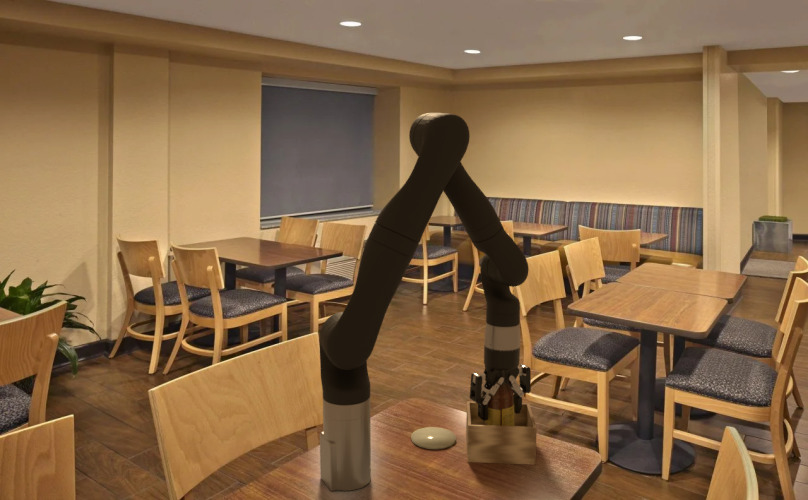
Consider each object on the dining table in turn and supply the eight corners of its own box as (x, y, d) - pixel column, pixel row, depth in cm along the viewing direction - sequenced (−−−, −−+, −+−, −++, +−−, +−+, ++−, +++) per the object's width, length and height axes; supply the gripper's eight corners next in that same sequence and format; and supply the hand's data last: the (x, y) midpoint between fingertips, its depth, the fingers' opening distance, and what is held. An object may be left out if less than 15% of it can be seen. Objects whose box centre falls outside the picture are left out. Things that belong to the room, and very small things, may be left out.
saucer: (424, 453, 139) (424, 450, 139) (403, 434, 148) (403, 432, 148) (464, 443, 144) (464, 441, 143) (441, 426, 152) (441, 424, 152)
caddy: (467, 461, 135) (468, 425, 134) (466, 434, 148) (466, 401, 147) (535, 464, 134) (536, 428, 133) (528, 436, 147) (529, 403, 146)
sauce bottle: (513, 443, 144) (515, 357, 141) (515, 456, 138) (518, 366, 135) (483, 441, 145) (485, 356, 141) (484, 454, 138) (486, 365, 135)
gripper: (483, 353, 131) (482, 428, 133) (540, 343, 137) (537, 416, 140) (464, 343, 137) (462, 415, 140) (518, 334, 144) (516, 404, 146)
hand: (500, 415), depth 140 cm, fingers open, 8 cm apart
